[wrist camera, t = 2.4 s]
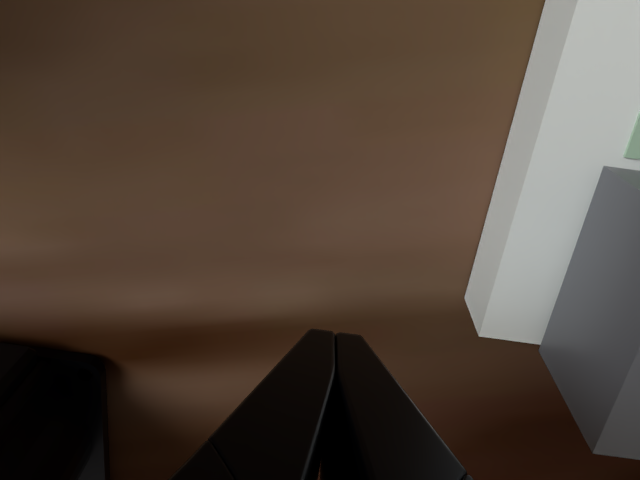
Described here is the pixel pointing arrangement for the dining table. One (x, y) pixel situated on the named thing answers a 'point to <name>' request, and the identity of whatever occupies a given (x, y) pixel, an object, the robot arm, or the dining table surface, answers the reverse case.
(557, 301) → the block
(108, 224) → the dining table surface
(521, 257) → the breaker panel
